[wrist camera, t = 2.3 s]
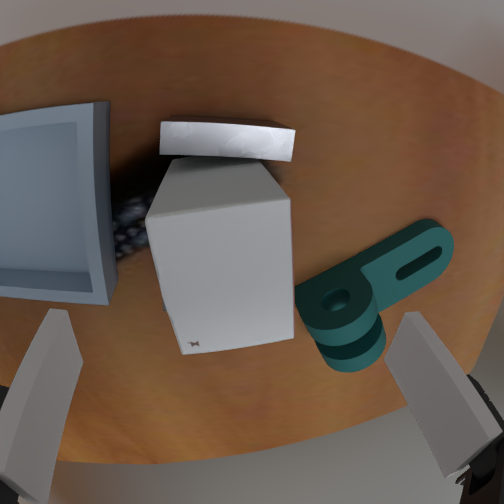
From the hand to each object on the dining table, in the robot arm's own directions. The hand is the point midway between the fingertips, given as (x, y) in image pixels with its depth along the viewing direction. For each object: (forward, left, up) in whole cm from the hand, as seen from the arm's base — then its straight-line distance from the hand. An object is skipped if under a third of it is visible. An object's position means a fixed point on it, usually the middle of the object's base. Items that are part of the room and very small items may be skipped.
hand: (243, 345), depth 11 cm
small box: (0, 0, -17) cm, 17 cm away
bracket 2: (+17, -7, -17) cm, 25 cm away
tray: (-17, 0, -17) cm, 24 cm away
